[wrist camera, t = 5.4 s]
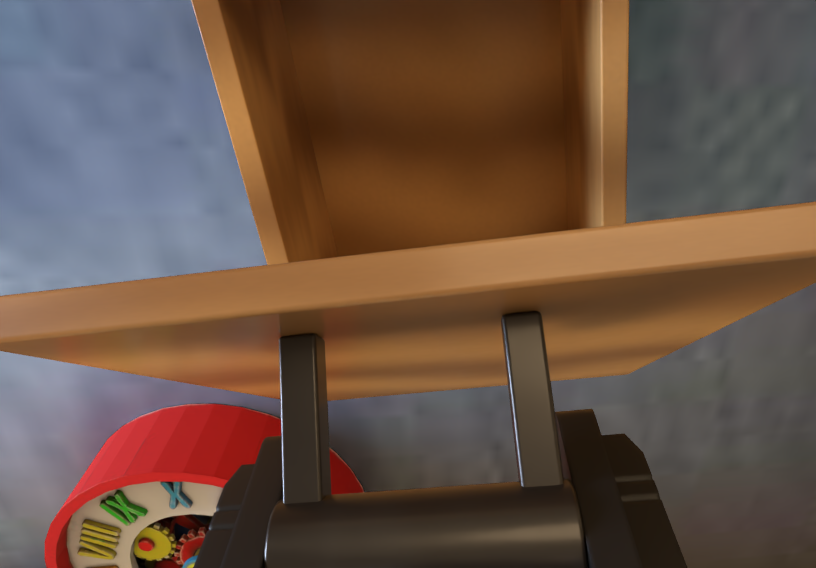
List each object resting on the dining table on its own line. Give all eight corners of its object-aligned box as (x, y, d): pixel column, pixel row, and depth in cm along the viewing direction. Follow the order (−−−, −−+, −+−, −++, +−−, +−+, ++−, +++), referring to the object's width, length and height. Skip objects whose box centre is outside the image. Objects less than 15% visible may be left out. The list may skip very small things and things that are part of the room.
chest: (254, -43, 27) (179, -37, 20) (575, -100, 26) (631, -117, 18) (333, 288, 35) (302, 387, 28) (582, 261, 34) (624, 358, 26)
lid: (-31, 297, 10) (-68, 667, 9) (877, 191, 9) (999, 624, 7) (300, 384, 27) (304, 516, 26) (625, 354, 26) (648, 493, 24)
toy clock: (-20, 560, 39) (193, 416, 33) (33, 488, 44) (227, 352, 38) (211, 708, 46) (425, 615, 40) (234, 631, 51) (428, 538, 45)
